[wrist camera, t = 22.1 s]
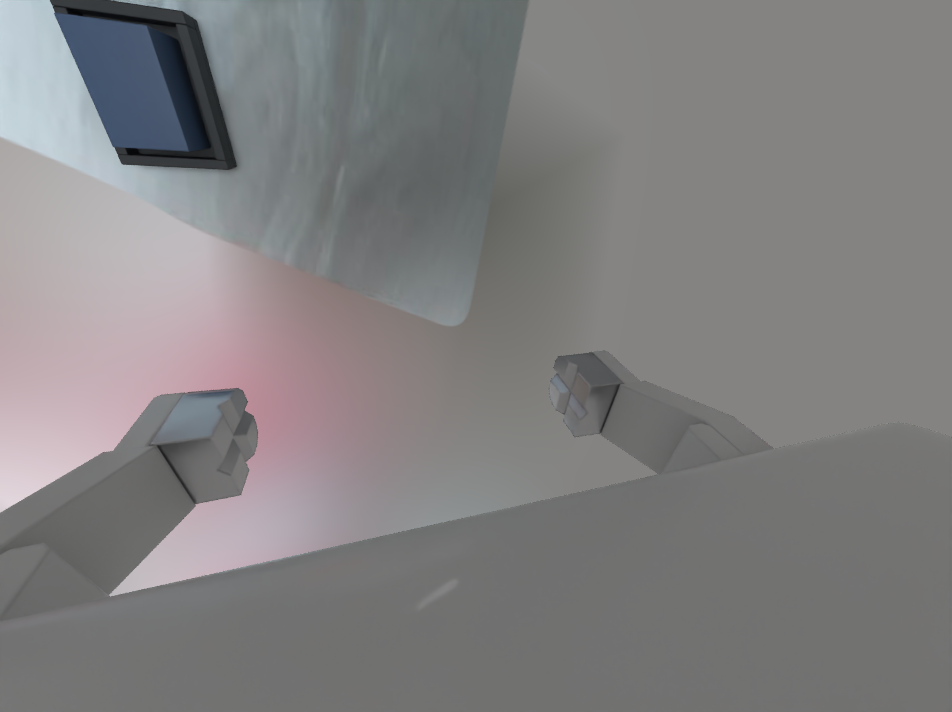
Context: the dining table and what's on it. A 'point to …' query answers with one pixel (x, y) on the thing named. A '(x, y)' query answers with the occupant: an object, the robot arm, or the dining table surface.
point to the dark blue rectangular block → (136, 83)
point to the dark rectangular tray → (185, 29)
